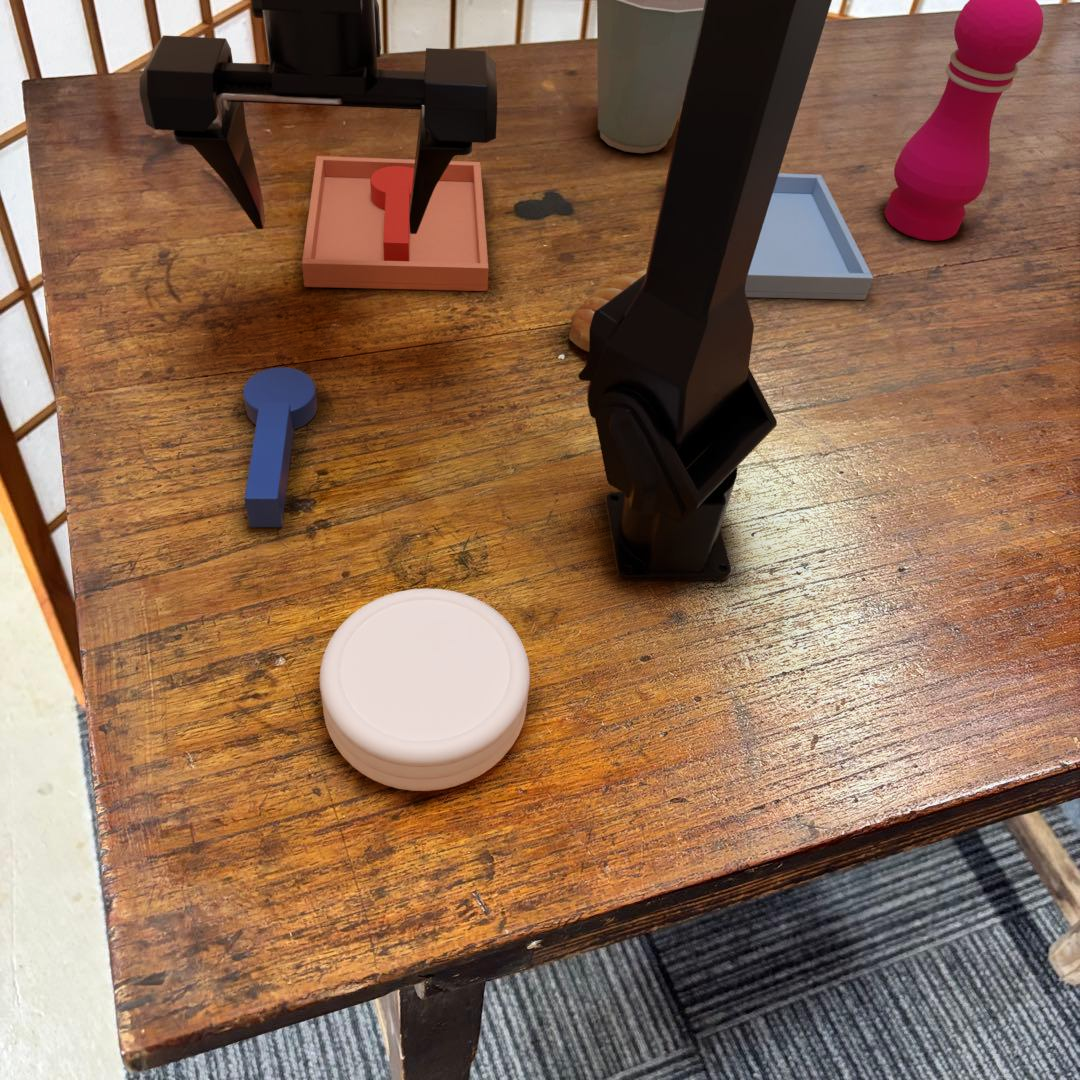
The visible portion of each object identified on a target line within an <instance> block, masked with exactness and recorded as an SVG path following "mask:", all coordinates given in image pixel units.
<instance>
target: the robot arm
mask: <svg viewBox="0 0 1080 1080" xmlns="http://www.w3.org/2000/svg"><path fill="white" fill-rule="evenodd" d="M832 1H833V0H705V4H704V8H703V13H702V18H701V22H700V27H699V31H698V36H697V41H696V45H695V50H694V55H693V59H692V64H691V68H690V73H689V78H688V82H687V87H686V91H685V96H684V101H683V104H682V107H681V110H680V113H679V119H678V123H677V124H678V125H677V129H676V134H675V137H674V143H673V147H672V148H673V149H672V150H671V151H672V152H671V157H670V161H669V165H668V169H667V175H666V180H665V184H664V189H663V193H662V198H661V202H660V207H659V211H658V217H657V221H656V225H655V229H654V235H653V239H652V243H651V250H650V254H649V258H648V262H647V267H646V268H647V271H646V274H645V275H643V276H642V277H641V278H639V279H638V280H637V281H635V282H634V283H633V284H631V285H630V286H628V287H627V288H626V289H624V290H623V291H622V292H620V293H619V294H618V295H616V296H615V297H614V298H612V299H611V300H610V301H608V302H607V303H606V304H604V305H603V306H602V307H600V308H599V309H598V310H596V311H595V312H594V315H593V318H592V322H591V325H590V330H589V352H588V357H587V359H586V363H585V366H584V367H583V369H581V371H580V372H579V373H578V379H579V380H580V381H583V382H589V383H588V385H587V391H586V394H587V395H586V397H587V398H586V402H587V407H588V411H589V415H590V416H591V418H592V419H594V421H595V426H596V430H597V431H596V432H597V436H598V441H599V447H600V451H601V458H602V462H603V463H602V464H603V467H604V472H605V477H606V482H607V483H608V485H609V486H612V487H613V488H615V489H616V490H618V491H619V492H618V491H617V492H614V491H613V492H609V493H608V494H607V495H606V496H605V497H606V498H605V508H606V514H607V519H608V520H607V521H608V526H609V532H610V540H611V545H612V550H613V557H614V563H615V569H616V574H617V576H618V577H619V579H620V580H622V581H706V580H707V581H715V580H716V581H717V580H718V581H720V580H721V581H722V580H726V579H728V578H729V577H730V575H731V572H732V570H731V569H732V567H731V564H730V560H729V556H728V552H727V548H726V543H725V541H724V536H723V534H722V525H723V521H724V518H725V515H726V513H727V512H726V511H727V509H728V506H729V503H730V499H731V496H732V493H733V489H734V486H735V484H736V481H737V477H738V466H739V465H740V464H741V463H743V462H744V460H745V459H746V458H747V457H748V456H749V455H750V454H751V453H752V452H753V451H754V450H755V449H756V448H757V447H758V445H760V444H761V443H762V442H763V440H764V439H765V438H767V436H768V435H769V434H770V433H772V432H773V430H774V429H775V428H776V427H777V426H778V421H777V419H776V417H775V415H774V413H773V411H772V409H771V407H770V405H769V403H768V401H767V399H766V398H765V396H764V393H763V392H762V390H761V388H760V386H759V384H758V383H757V381H756V378H755V377H754V375H753V373H752V371H751V369H750V361H751V354H752V346H753V337H754V328H755V325H754V321H753V317H752V312H751V309H750V306H749V302H748V297H746V294H745V285H746V279H747V276H748V272H749V269H750V266H751V262H752V259H753V256H754V253H755V249H756V246H757V243H758V240H759V236H760V233H761V230H762V227H763V223H764V220H765V217H766V214H767V210H768V207H769V204H770V201H771V197H772V194H773V191H774V187H775V184H776V181H777V178H778V174H779V173H780V171H781V168H782V164H783V161H784V158H785V155H786V153H787V148H788V145H789V142H790V138H791V135H792V133H793V130H794V129H793V128H794V125H795V122H796V120H797V119H796V118H797V115H798V112H799V109H800V106H801V103H802V99H803V96H804V92H805V90H806V86H807V83H808V79H809V77H810V74H811V70H812V66H813V63H814V60H815V56H816V53H817V50H818V47H819V44H820V40H821V37H822V34H823V30H824V27H825V24H826V20H827V18H828V14H829V11H830V8H831V5H832ZM250 5H251V11H252V15H253V16H254V18H256V19H263V25H264V32H265V40H266V48H267V56H268V63H247V62H246V63H244V62H234V60H233V54H232V48H231V46H230V44H229V42H228V40H227V38H224V37H204V36H185V35H183V36H181V35H162V36H161V38H160V39H159V40H158V42H156V44H155V45H154V47H153V48H152V51H151V53H150V55H149V57H148V60H147V62H146V64H145V66H144V68H143V70H142V72H141V75H140V76H139V98H140V102H141V107H142V112H143V116H144V120H145V124H146V126H148V127H150V128H152V129H153V130H154V131H155V130H156V131H172V134H173V137H174V140H175V142H176V143H178V144H180V145H185V146H187V145H188V146H192V147H193V148H194V149H195V150H196V151H197V153H199V154H200V156H201V157H202V158H203V160H205V162H206V163H207V164H208V165H209V166H210V167H211V168H212V169H213V171H214V172H215V173H216V174H217V175H218V176H219V178H220V179H221V180H222V181H223V182H224V184H225V185H226V186H227V188H228V189H229V191H230V192H231V194H232V195H233V197H234V199H236V201H237V202H238V204H239V205H240V207H241V208H242V210H243V211H244V213H245V215H246V216H247V217H248V218H249V220H250V221H251V223H252V224H253V226H254V228H256V229H257V230H264V228H265V223H266V216H265V215H266V214H265V205H264V197H263V192H262V188H261V184H260V180H259V176H258V172H257V171H258V170H257V168H256V164H255V160H254V155H253V151H252V147H251V143H250V138H249V134H248V130H247V123H246V115H245V107H244V106H245V105H244V103H254V104H275V105H277V104H279V105H298V106H299V105H301V106H322V107H323V106H325V107H348V108H368V109H369V108H371V109H372V108H374V109H393V110H394V109H396V110H415V111H417V110H418V111H419V121H418V131H417V141H416V148H415V156H414V160H415V164H414V173H413V181H412V190H411V198H410V214H409V222H410V234H417V231H418V229H419V226H420V224H421V221H422V219H423V216H424V214H425V211H426V209H427V206H428V203H429V201H430V198H431V196H432V193H433V191H434V189H435V187H436V185H437V183H438V182H439V180H440V178H441V177H442V175H443V173H444V172H445V170H446V168H447V167H448V165H449V163H450V162H451V161H453V158H454V157H456V156H467V155H470V154H471V153H472V152H473V143H481V144H483V143H484V144H487V143H489V142H491V141H494V140H495V139H497V126H498V125H497V124H498V123H497V122H498V120H497V119H498V84H497V72H496V71H497V69H496V67H497V66H496V62H495V61H494V59H493V58H492V57H491V56H490V54H489V53H488V52H487V51H486V50H477V49H454V48H453V49H452V48H432V47H426V48H425V60H424V61H425V63H424V64H425V65H424V71H422V70H421V71H419V70H401V69H400V70H398V69H378V58H379V59H380V58H381V50H382V41H381V39H382V37H381V20H380V19H381V15H380V4H379V2H378V0H250ZM626 571H628V572H626Z"/></svg>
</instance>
